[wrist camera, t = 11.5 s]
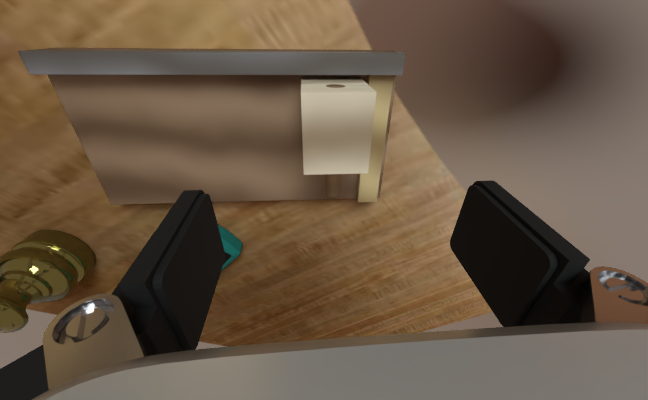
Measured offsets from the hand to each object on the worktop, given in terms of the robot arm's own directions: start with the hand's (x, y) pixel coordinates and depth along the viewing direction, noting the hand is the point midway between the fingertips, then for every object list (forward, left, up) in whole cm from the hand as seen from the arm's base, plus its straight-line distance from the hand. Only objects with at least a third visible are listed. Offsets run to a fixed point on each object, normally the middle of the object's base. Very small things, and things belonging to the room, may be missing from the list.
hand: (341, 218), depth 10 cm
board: (+3, -7, -19) cm, 20 cm away
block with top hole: (+2, +1, -17) cm, 17 cm away
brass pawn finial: (+18, -31, -19) cm, 41 cm away
